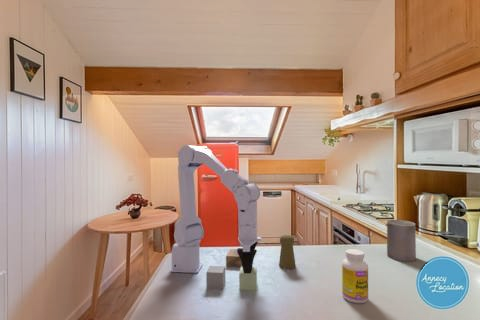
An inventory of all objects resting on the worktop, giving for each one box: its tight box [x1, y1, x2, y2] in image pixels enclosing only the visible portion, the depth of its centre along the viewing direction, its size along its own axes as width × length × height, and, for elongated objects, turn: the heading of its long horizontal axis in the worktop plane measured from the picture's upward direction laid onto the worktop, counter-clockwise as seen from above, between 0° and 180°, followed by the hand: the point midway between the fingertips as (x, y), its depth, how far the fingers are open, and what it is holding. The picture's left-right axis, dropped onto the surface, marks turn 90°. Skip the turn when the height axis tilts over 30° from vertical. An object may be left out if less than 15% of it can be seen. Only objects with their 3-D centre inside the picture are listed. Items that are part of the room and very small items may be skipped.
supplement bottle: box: [341, 248, 369, 304], centre depth 75 cm, size 7×7×13 cm
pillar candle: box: [386, 218, 417, 263], centre depth 106 cm, size 10×10×15 cm
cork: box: [278, 234, 297, 270], centre depth 99 cm, size 6×6×11 cm
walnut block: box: [225, 248, 242, 268], centre depth 103 cm, size 8×8×4 cm
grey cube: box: [205, 265, 226, 290], centre depth 84 cm, size 5×5×5 cm
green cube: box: [238, 266, 258, 291], centre depth 83 cm, size 5×5×5 cm
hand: (248, 267), depth 83 cm, fingers open, 7 cm apart
